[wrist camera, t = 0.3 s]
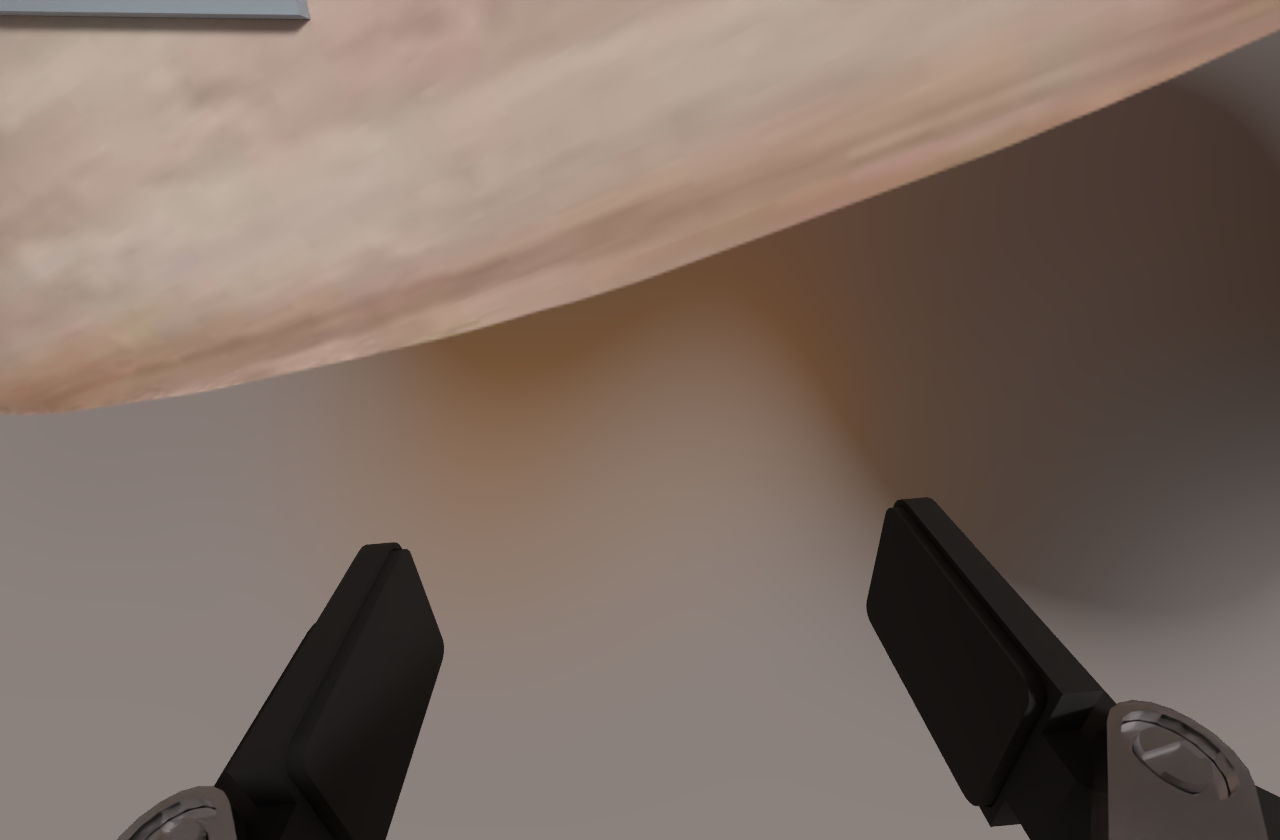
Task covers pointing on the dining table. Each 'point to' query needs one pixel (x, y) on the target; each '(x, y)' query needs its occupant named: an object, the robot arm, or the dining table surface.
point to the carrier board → (159, 8)
